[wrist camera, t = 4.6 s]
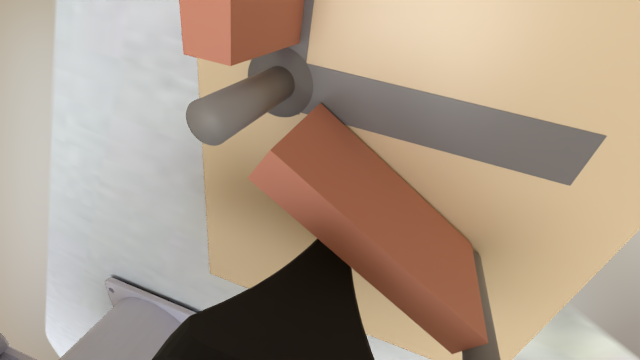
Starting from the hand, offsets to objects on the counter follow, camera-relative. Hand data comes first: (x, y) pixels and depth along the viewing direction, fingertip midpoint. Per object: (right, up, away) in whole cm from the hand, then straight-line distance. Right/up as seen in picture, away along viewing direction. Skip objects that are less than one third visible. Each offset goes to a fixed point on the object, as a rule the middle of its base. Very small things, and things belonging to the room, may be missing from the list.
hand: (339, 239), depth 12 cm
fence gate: (+2, +2, 0) cm, 3 cm away
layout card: (+2, +2, 0) cm, 3 cm away
